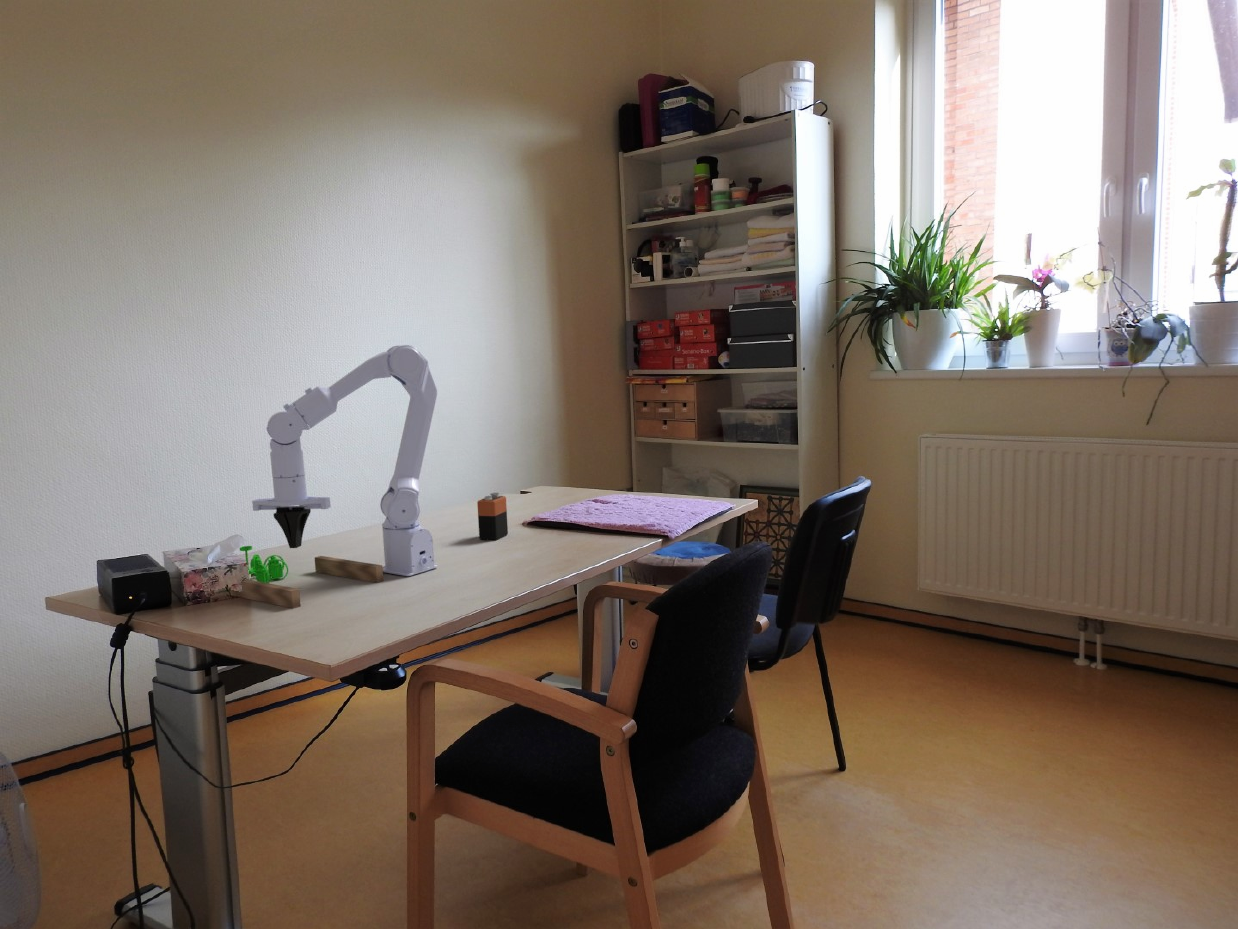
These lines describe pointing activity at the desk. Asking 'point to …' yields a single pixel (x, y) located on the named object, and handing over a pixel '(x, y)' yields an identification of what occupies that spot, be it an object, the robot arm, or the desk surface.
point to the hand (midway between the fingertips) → (295, 547)
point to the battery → (492, 517)
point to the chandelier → (261, 569)
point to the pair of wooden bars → (322, 565)
